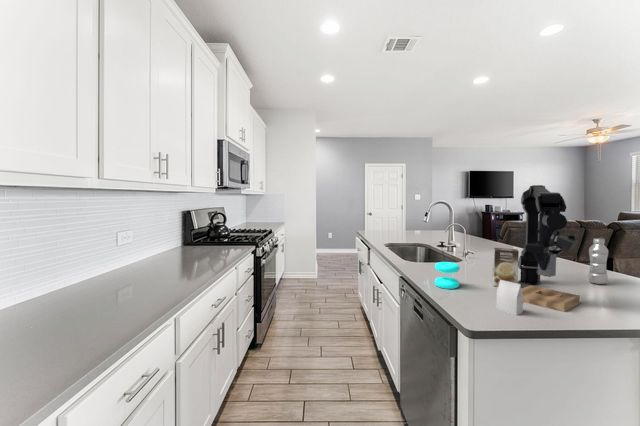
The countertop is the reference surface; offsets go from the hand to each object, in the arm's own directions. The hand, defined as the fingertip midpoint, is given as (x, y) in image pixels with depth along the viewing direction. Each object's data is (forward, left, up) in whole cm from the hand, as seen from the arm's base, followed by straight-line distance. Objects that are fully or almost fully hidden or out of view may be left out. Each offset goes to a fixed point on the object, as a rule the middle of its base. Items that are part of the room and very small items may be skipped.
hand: (546, 269), depth 116 cm
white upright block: (-3, -21, -12) cm, 24 cm away
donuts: (-33, -12, -12) cm, 37 cm away
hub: (0, 0, -12) cm, 12 cm away
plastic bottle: (+3, +45, -12) cm, 47 cm away
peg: (0, 0, -2) cm, 2 cm away
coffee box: (-19, +9, -12) cm, 24 cm away
